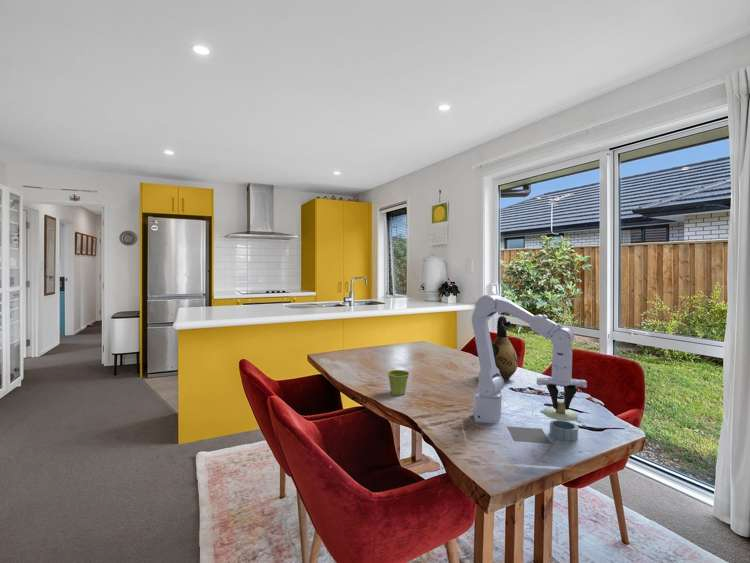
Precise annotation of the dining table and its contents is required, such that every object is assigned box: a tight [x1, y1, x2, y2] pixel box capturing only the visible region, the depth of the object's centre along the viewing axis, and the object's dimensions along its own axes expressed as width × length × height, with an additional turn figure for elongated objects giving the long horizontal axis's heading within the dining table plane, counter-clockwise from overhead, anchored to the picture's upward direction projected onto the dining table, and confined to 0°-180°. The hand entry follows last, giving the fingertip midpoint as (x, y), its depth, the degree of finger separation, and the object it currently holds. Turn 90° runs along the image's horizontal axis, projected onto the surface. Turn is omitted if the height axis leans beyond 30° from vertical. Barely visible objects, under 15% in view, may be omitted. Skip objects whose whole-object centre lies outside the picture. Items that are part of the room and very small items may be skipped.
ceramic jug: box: [491, 315, 519, 382], centre depth 194 cm, size 17×15×30 cm
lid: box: [542, 400, 579, 422], centre depth 128 cm, size 10×10×4 cm
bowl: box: [548, 419, 579, 442], centre depth 128 cm, size 8×8×4 cm
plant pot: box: [386, 369, 411, 396], centre depth 170 cm, size 9×9×9 cm
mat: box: [506, 426, 552, 444], centre depth 129 cm, size 11×11×1 cm
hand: (560, 408), depth 128 cm, fingers closed on lid, 3 cm apart
